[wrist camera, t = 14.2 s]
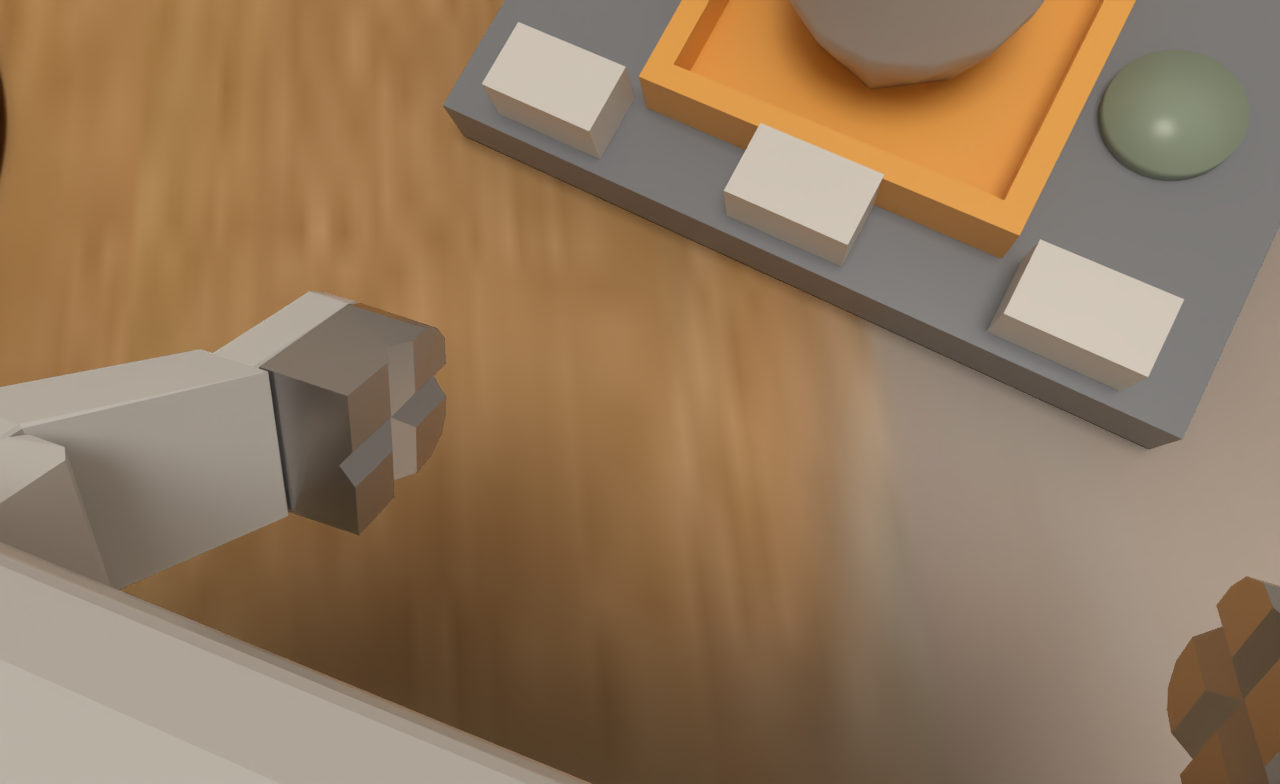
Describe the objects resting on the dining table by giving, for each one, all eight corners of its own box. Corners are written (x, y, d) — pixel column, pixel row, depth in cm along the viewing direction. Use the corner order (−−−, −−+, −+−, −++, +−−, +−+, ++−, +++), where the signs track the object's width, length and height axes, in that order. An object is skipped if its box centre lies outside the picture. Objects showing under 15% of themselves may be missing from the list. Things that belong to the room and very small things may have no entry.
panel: (463, 135, 24) (421, 75, 21) (655, -191, 25) (641, -291, 22) (1149, 449, 20) (1216, 428, 17) (1336, 40, 21) (1429, -45, 18)
